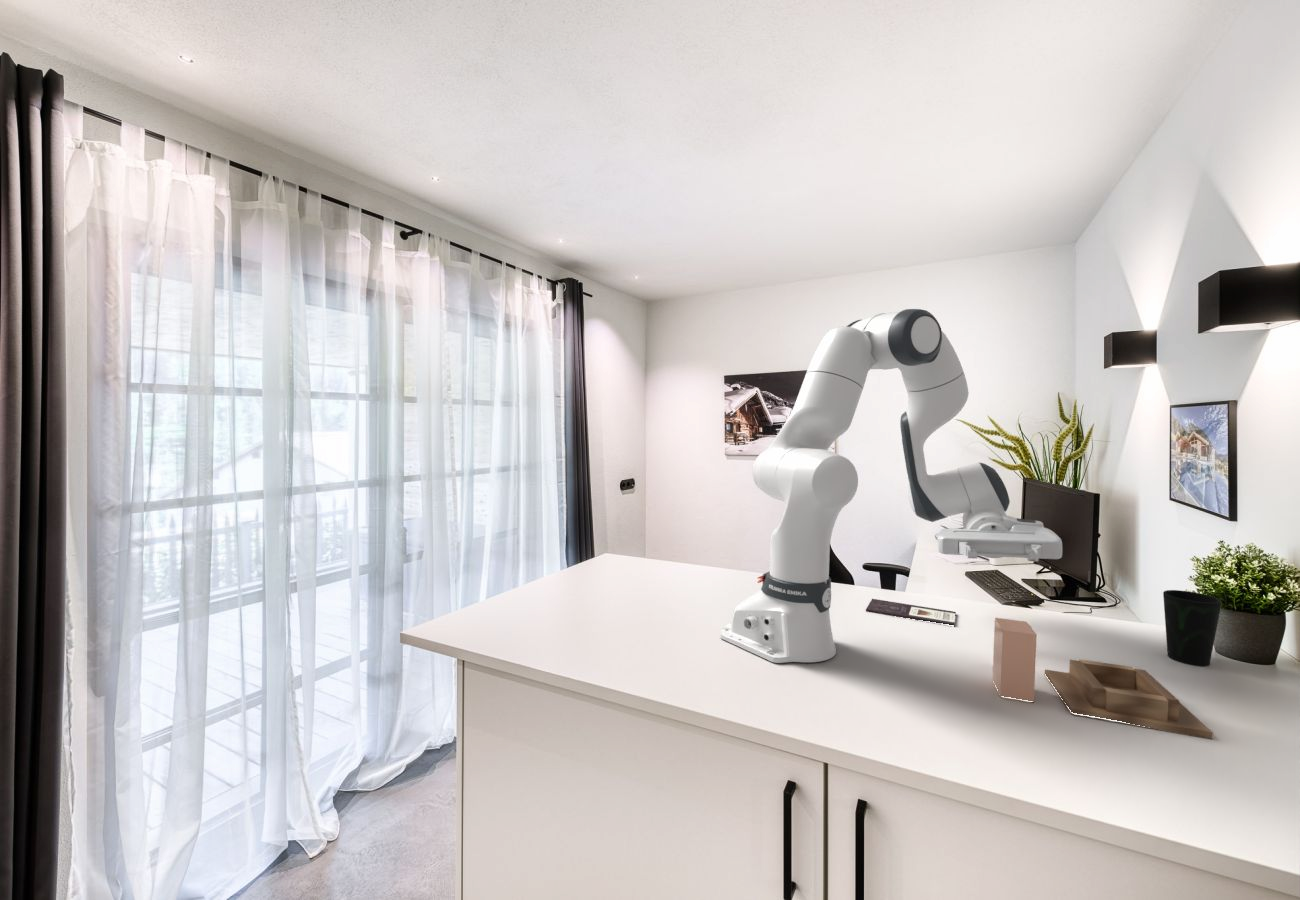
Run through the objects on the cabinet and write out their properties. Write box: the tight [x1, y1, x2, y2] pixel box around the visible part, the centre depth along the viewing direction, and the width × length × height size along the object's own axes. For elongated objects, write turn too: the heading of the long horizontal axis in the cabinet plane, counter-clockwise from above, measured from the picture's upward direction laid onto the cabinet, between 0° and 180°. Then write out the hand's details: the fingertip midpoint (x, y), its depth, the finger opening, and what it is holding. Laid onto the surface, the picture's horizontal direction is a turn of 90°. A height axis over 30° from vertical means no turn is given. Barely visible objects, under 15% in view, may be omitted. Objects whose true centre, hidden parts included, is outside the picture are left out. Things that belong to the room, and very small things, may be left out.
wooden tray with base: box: [1044, 659, 1214, 740], centre depth 85 cm, size 16×14×4 cm
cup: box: [1162, 589, 1223, 667], centre depth 100 cm, size 8×8×12 cm
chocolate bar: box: [865, 598, 957, 625], centre depth 125 cm, size 9×1×18 cm
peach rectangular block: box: [992, 617, 1037, 702], centre depth 88 cm, size 4×6×11 cm
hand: (1002, 555), depth 98 cm, fingers open, 8 cm apart
